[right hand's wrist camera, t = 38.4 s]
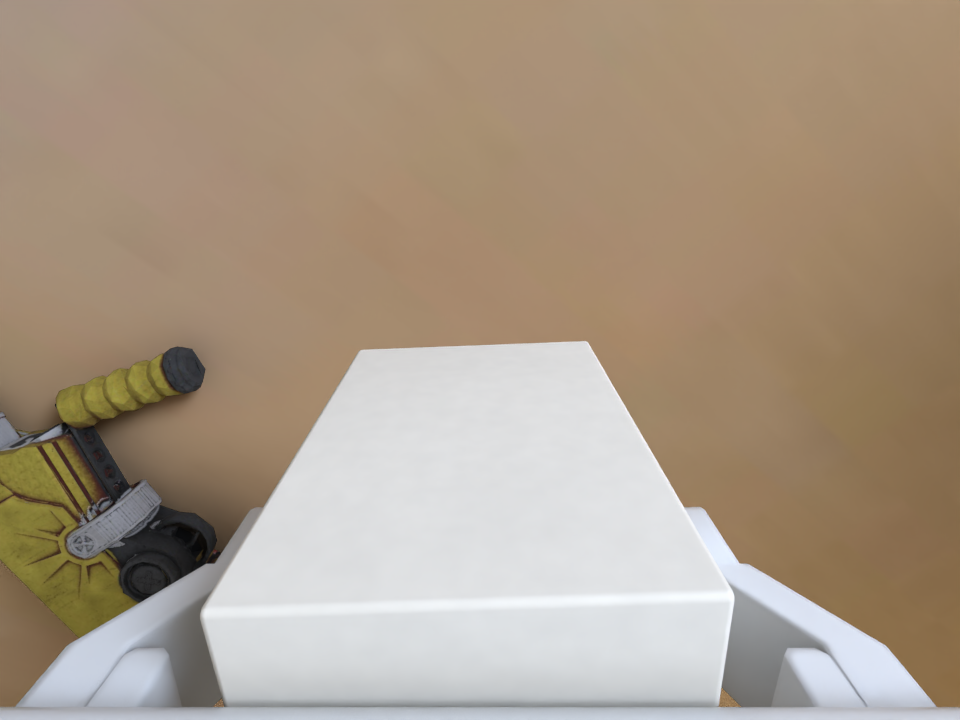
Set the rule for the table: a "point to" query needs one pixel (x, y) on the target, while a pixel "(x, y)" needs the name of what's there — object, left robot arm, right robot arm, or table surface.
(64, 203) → the table surface
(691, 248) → the table surface
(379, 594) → the brick
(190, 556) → the toy gun
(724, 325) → the table surface
